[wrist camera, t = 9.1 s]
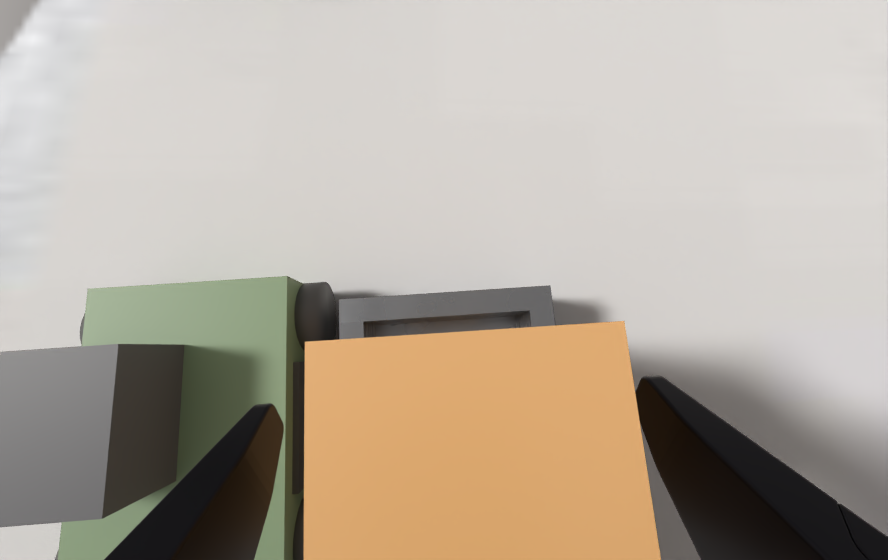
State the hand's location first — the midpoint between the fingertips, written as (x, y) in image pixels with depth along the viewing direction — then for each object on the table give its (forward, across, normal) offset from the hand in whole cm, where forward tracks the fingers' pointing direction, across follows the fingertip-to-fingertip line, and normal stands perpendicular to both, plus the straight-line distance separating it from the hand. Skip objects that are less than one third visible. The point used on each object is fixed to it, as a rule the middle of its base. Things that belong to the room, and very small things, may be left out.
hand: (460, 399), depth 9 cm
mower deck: (+6, +10, +8) cm, 14 cm away
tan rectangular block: (+5, 0, +7) cm, 9 cm away
